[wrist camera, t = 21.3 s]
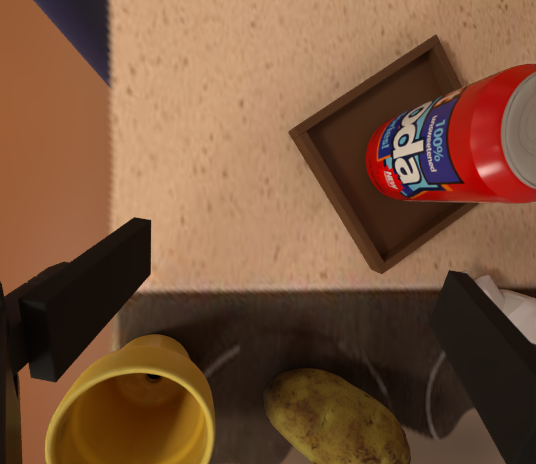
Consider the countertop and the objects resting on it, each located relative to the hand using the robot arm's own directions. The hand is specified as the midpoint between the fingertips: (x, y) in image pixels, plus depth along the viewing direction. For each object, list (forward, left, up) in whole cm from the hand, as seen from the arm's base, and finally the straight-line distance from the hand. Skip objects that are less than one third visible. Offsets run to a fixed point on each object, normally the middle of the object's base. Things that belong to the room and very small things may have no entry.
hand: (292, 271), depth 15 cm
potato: (+18, -3, -17) cm, 25 cm away
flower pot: (+6, -14, -17) cm, 22 cm away
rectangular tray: (+2, +16, -16) cm, 23 cm away
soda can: (+2, +16, -16) cm, 23 cm away
